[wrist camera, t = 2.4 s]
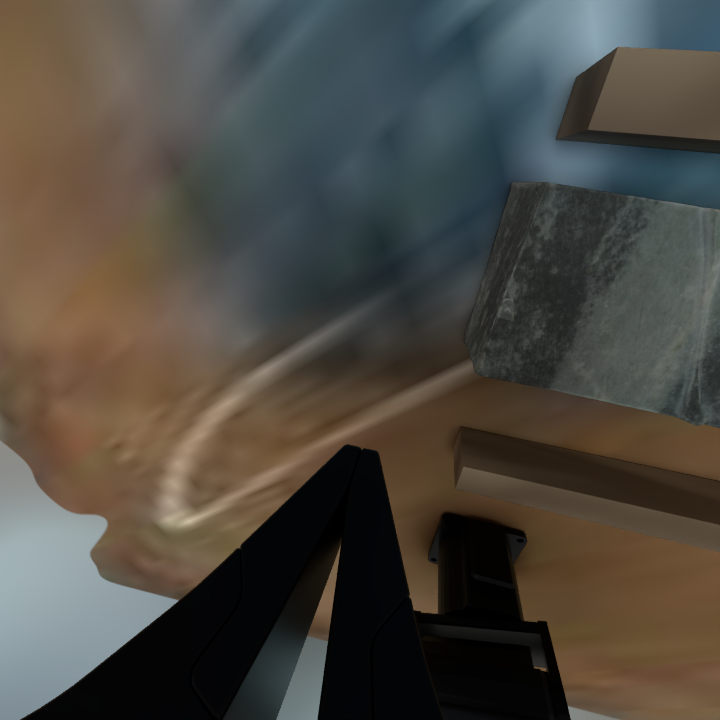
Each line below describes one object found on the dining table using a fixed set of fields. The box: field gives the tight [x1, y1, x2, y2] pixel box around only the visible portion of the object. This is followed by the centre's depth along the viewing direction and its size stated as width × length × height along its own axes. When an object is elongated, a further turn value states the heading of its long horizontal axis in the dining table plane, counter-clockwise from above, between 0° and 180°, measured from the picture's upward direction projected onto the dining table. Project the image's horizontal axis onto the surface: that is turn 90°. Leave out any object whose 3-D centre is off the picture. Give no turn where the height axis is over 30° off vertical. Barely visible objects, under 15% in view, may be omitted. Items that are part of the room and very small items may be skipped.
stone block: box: [464, 182, 720, 428], centre depth 14 cm, size 9×14×5 cm, turn 81°
